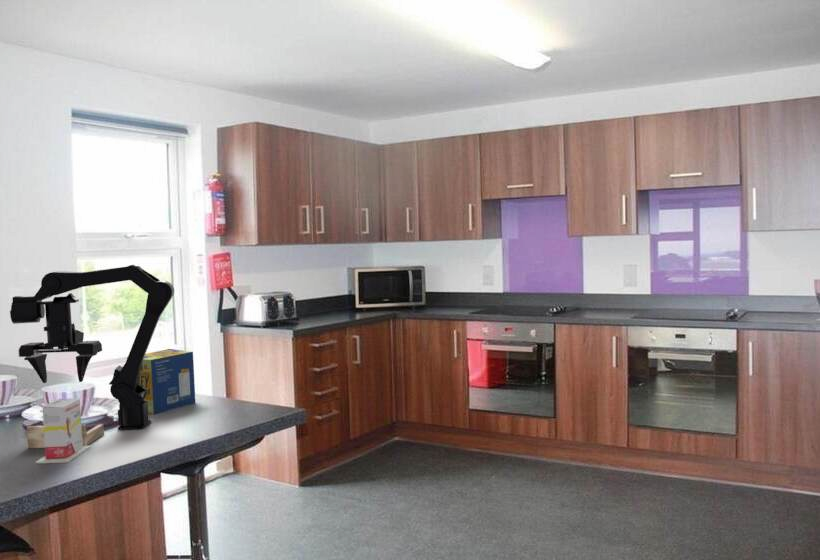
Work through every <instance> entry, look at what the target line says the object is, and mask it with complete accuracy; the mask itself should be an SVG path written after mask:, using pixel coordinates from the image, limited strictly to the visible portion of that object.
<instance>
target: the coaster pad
mask: <svg viewBox="0 0 820 560" xmlns="http://www.w3.org/2000/svg"><path fill="white" fill-rule="evenodd" d="M89 449H91V445H87V446H83V447H82V448H81V449H79V450H78V451H76V452H75V453H73V454H72V455H70V456H69V457H68V458H54V459H45V456H43V457H41V458H39V460H37V461H35V464H58V463H59V464H60V463H61V464H62V463H63V464H65V463H69V462H71V461H72V460H74V459H76V458H77V457H78V456H80V455H81V454H83V453H85V452H86V451H87V450H89Z"/></svg>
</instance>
